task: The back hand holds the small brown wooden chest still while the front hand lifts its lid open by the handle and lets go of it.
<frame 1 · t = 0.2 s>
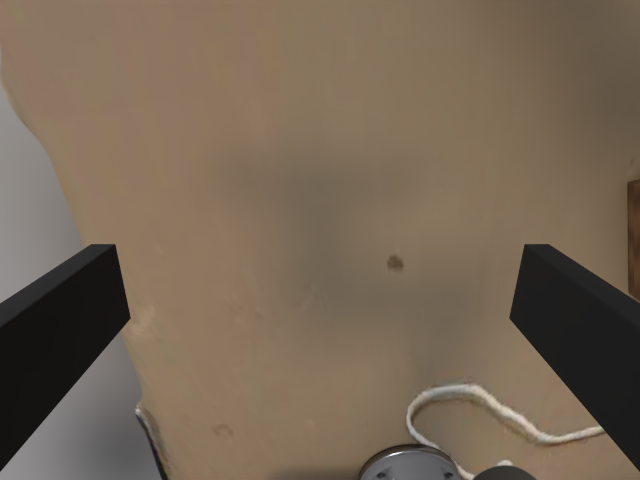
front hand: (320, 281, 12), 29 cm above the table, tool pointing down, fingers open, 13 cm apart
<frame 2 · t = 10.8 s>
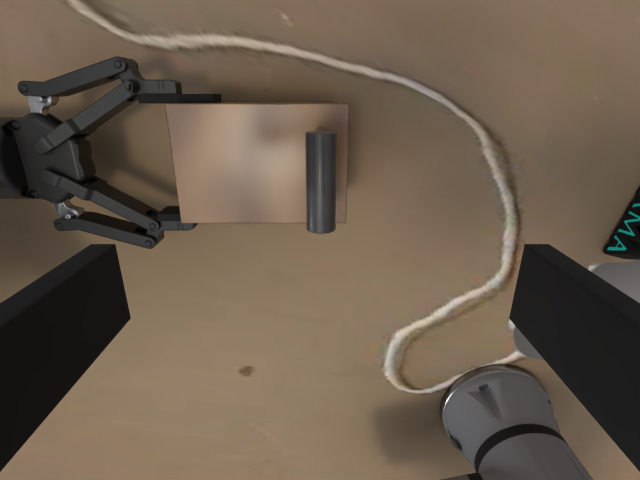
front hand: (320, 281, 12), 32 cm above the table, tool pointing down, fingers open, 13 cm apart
back hand: (222, 159, 36), fingers closed on chest, 10 cm apart
lid: (254, 173, 29), point 14 cm above the table, hinge at 0.0°
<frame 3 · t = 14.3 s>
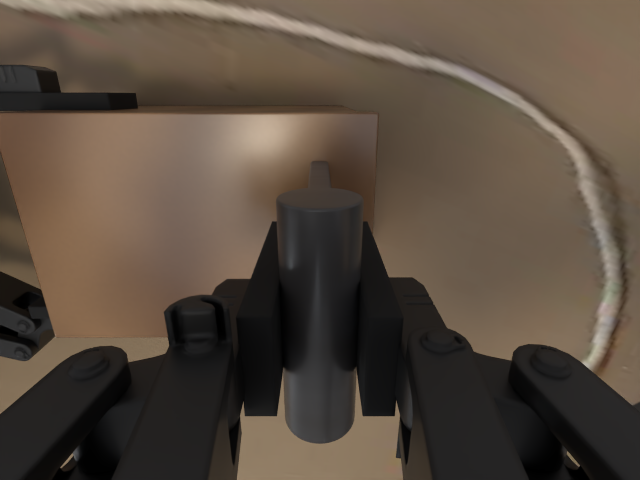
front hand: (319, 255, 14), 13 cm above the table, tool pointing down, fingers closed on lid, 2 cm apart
lid: (173, 268, 13), point 14 cm above the table, hinge at -0.1°, touching front hand
chest: (241, 181, 27), on the table, touching back hand
when the back hand's fingers open (7 cm above the table, at t = 21.9 s): chest stays where it is, on the table.
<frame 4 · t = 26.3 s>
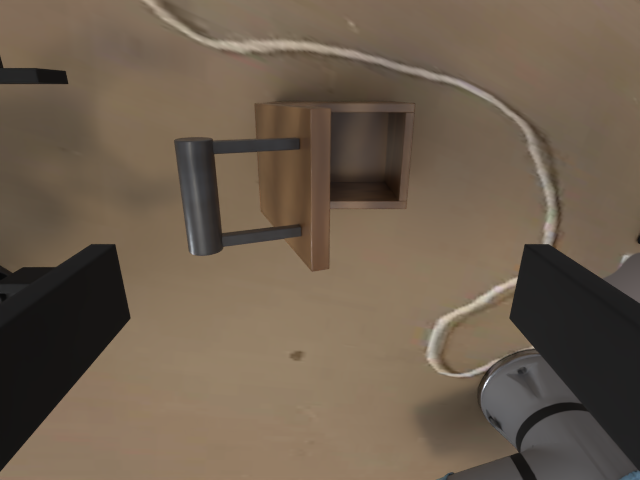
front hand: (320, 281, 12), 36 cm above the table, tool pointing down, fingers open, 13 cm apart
lid: (239, 177, 28), point 19 cm above the table, hinge at 68.8°
chest: (334, 145, 46), on the table
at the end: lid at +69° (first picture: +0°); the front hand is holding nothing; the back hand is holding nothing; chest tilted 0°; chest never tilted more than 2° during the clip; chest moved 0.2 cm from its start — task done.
